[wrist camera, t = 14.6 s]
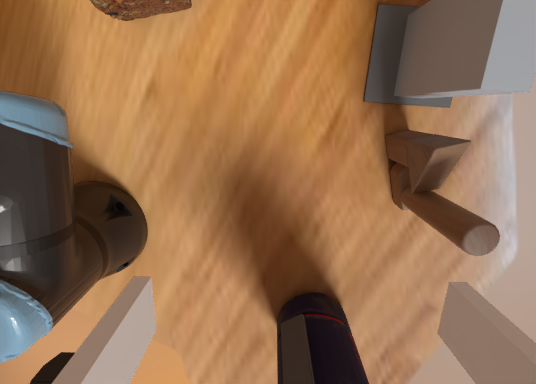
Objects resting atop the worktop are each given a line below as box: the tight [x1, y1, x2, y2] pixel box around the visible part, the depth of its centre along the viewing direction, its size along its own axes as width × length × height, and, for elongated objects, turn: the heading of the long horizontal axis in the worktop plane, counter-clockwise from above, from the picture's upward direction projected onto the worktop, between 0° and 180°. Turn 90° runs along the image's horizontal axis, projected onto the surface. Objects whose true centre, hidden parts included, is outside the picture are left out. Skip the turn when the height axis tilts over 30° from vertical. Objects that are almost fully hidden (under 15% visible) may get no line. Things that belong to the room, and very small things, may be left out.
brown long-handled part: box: [385, 130, 500, 256], centre depth 36 cm, size 4×11×18 cm, turn 13°
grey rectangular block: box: [394, 0, 536, 98], centre depth 31 cm, size 10×4×18 cm, turn 176°
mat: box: [363, 4, 452, 108], centre depth 40 cm, size 12×12×1 cm
